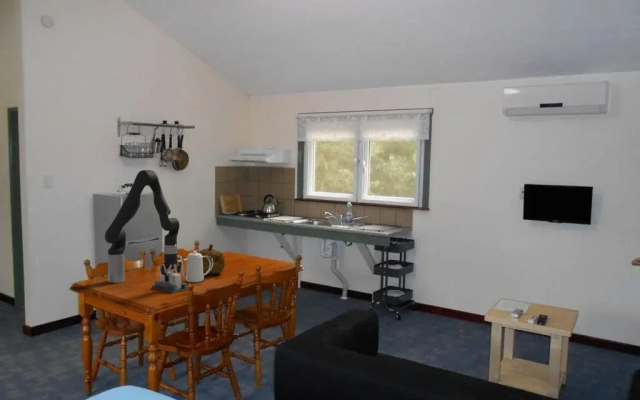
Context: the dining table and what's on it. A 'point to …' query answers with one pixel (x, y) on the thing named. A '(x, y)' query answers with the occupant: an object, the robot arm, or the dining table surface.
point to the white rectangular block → (172, 279)
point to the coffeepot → (195, 267)
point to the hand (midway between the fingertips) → (170, 280)
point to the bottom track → (169, 286)
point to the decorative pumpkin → (217, 260)
